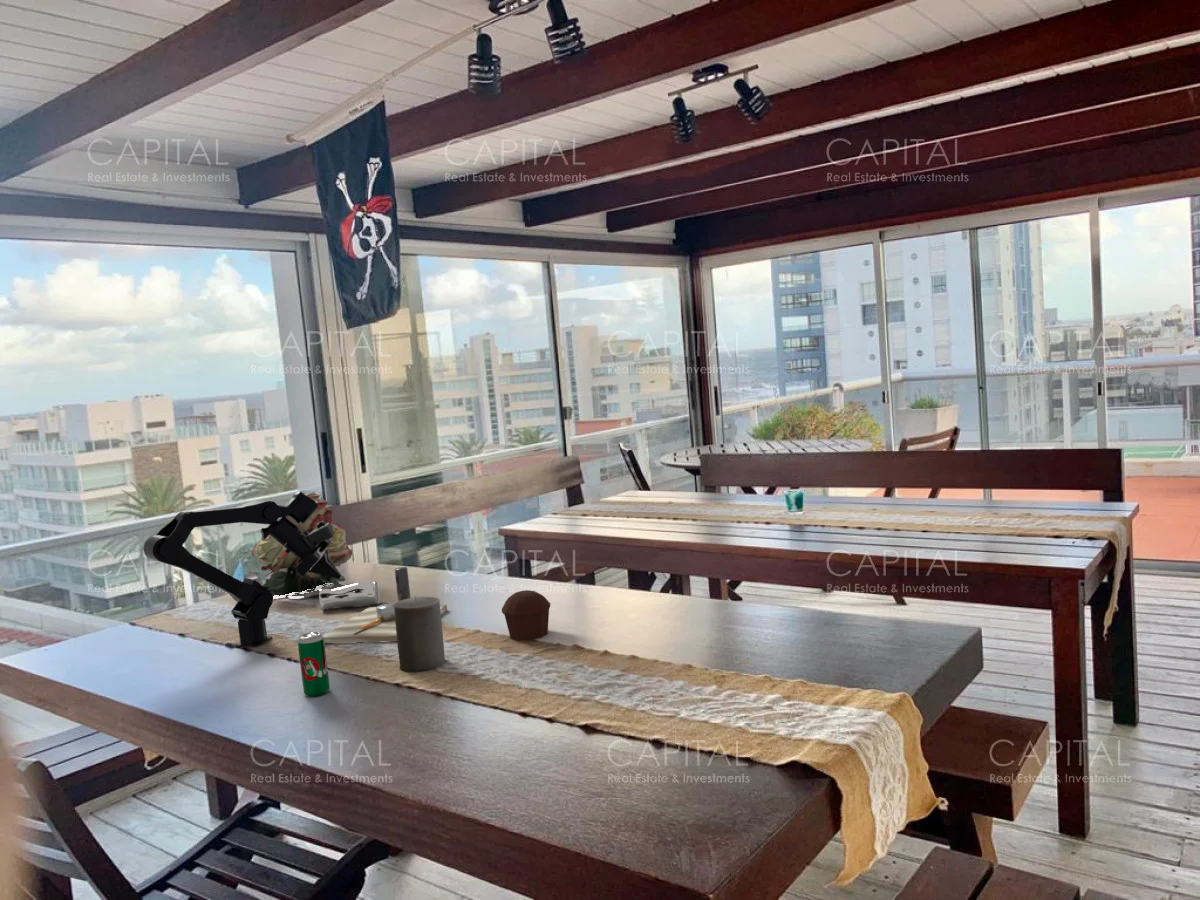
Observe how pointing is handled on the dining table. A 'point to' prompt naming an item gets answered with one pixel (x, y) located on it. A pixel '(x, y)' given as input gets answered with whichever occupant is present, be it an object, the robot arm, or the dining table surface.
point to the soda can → (313, 664)
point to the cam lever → (403, 593)
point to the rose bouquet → (279, 559)
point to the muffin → (526, 615)
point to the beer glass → (350, 595)
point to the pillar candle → (419, 634)
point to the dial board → (374, 633)
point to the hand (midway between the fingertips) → (340, 577)
